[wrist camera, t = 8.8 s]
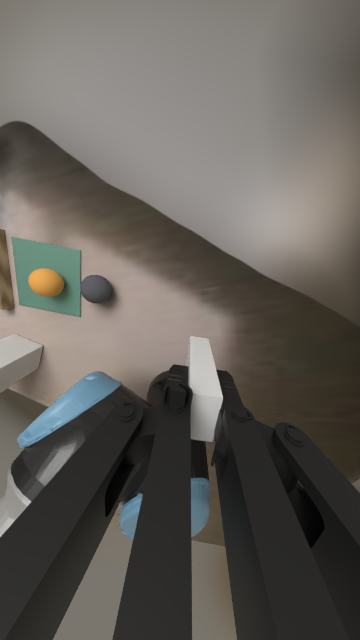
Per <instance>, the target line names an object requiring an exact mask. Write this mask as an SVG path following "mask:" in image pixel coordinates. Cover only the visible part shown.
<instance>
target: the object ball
mask: <svg viewBox="0 0 360 640" xmlns="http://www.w3.org/2000/svg"><path fill="white" fill-rule="evenodd" d="M28 282H29V286H30V288H31V289H32V290H33V291H34V292H35V293H37V294H39V295H41V296H45V297H52V296H56V295H58V294H60V293H61V292H62V290H63V288H64V281H63V279H62V277H61V276H60V275H59V274H58V273H57V272H55V271H54V270H51V269H47V268H41V269H37V270H35V271H33V272H32V273H31V274H30V276H29V279H28Z"/></svg>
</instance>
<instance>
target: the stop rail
mask: <svg viewBox="0 0 360 640" xmlns="http://www.w3.org/2000/svg"><path fill="white" fill-rule="evenodd" d="M13 307H14V301H13V293H12V285H11V277H10V269H9V261H8V254H7V246H6V238H5V230H1V229H0V309H1V310H4V309H9V308H13Z"/></svg>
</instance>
